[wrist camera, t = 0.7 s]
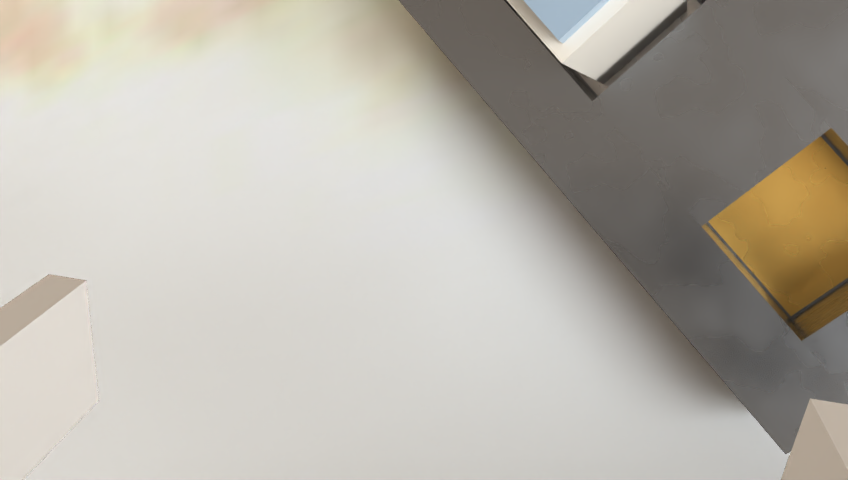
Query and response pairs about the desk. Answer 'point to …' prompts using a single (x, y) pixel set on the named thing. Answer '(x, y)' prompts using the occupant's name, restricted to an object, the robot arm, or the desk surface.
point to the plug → (598, 30)
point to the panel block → (700, 175)
